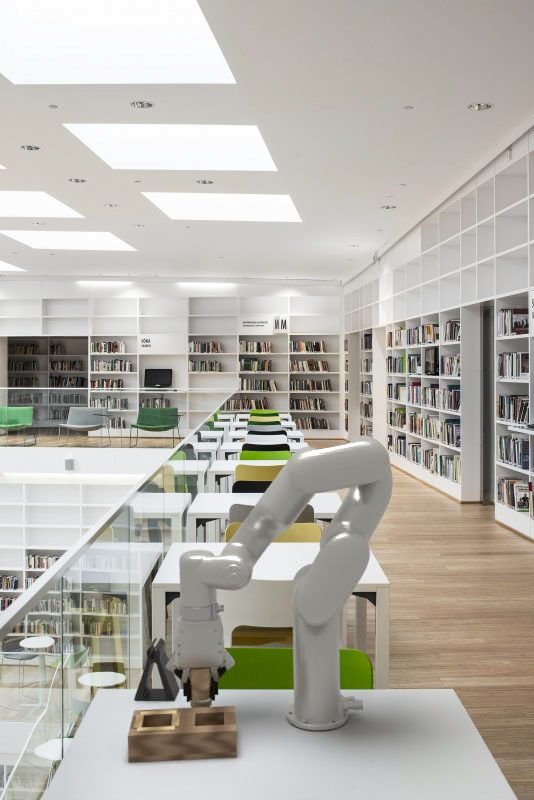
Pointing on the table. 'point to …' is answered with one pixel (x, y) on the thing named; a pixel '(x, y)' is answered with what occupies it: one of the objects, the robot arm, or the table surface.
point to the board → (182, 734)
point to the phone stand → (166, 676)
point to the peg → (200, 687)
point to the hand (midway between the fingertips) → (201, 697)
